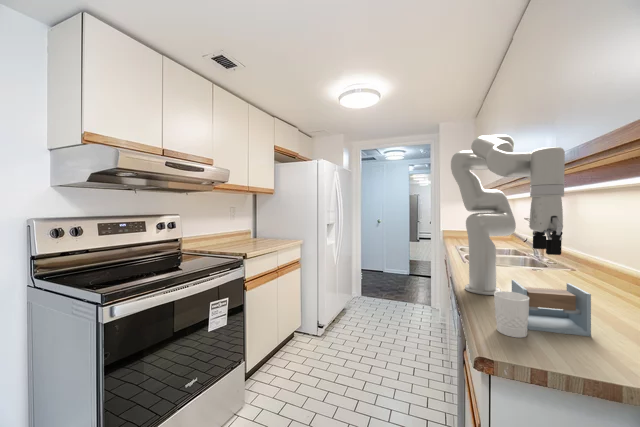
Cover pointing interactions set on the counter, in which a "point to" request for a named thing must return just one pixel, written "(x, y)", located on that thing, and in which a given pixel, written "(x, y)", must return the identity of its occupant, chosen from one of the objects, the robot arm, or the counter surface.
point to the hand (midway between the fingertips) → (546, 251)
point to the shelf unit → (561, 314)
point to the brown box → (551, 298)
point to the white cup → (511, 313)
